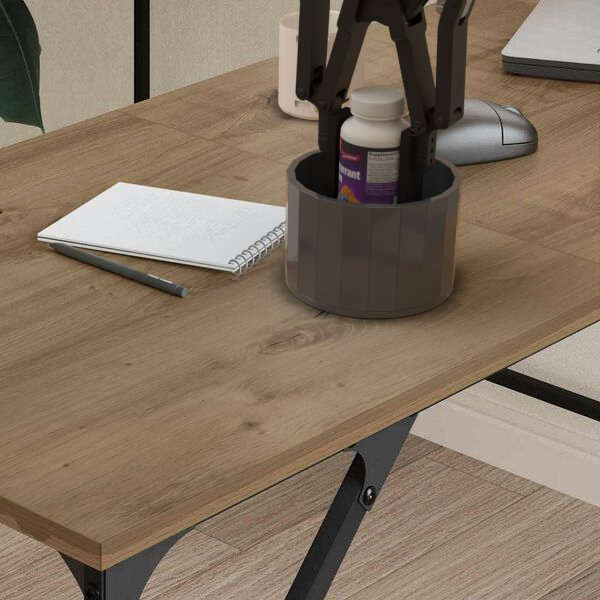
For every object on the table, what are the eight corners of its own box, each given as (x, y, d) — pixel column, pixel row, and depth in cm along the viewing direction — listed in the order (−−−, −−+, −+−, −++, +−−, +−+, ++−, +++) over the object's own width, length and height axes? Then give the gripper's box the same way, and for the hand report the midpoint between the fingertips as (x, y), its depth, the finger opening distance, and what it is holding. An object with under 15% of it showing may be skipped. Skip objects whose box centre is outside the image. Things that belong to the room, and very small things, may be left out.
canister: (406, 335, 97) (413, 221, 93) (253, 290, 103) (253, 182, 99) (480, 269, 107) (489, 164, 103) (337, 232, 113) (341, 132, 109)
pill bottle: (328, 204, 104) (332, 84, 100) (394, 199, 105) (400, 80, 101) (349, 232, 99) (354, 107, 95) (417, 225, 101) (425, 102, 96)
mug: (291, 90, 147) (292, 7, 143) (370, 98, 145) (374, 14, 141) (259, 125, 137) (260, 36, 133) (345, 134, 135) (349, 44, 131)
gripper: (534, -106, 90) (504, 210, 101) (300, -133, 98) (295, 162, 109) (490, -89, 84) (462, 245, 95) (245, -120, 93) (245, 190, 103)
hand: (373, 200), depth 102 cm, fingers closed on pill bottle, 5 cm apart
